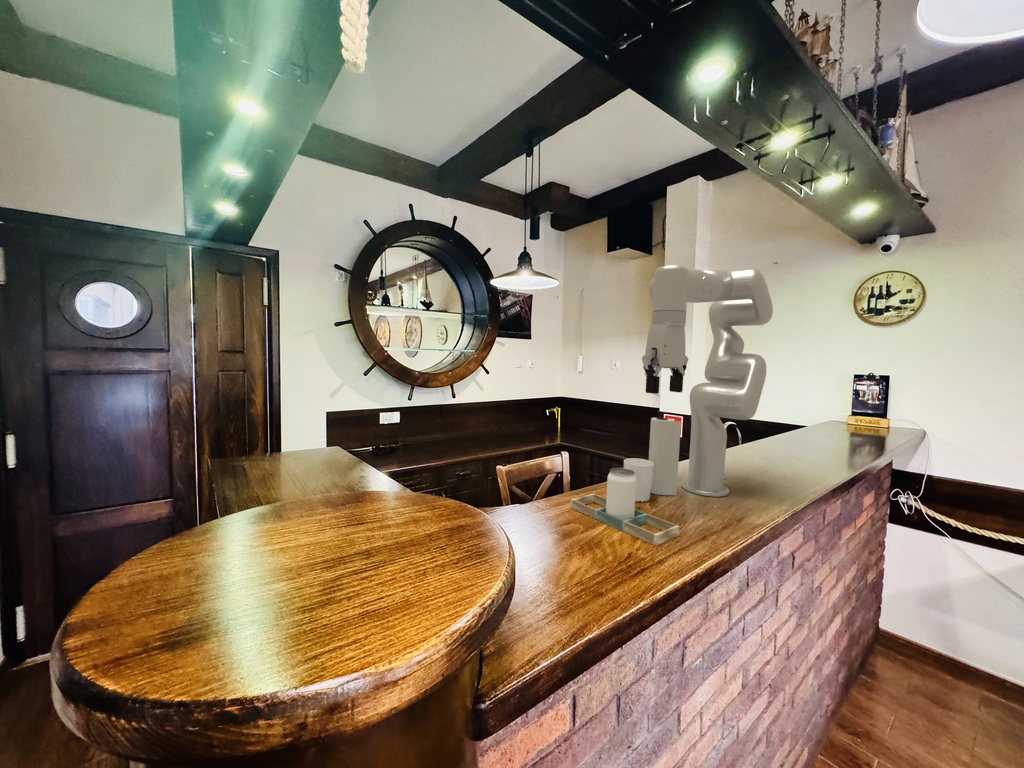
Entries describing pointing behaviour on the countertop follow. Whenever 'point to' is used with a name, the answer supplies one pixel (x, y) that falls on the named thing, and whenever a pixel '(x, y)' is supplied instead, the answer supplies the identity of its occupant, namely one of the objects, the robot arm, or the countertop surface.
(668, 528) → the slot rack
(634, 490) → the can
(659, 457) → the paper towel roll
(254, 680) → the countertop surface
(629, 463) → the white cup
